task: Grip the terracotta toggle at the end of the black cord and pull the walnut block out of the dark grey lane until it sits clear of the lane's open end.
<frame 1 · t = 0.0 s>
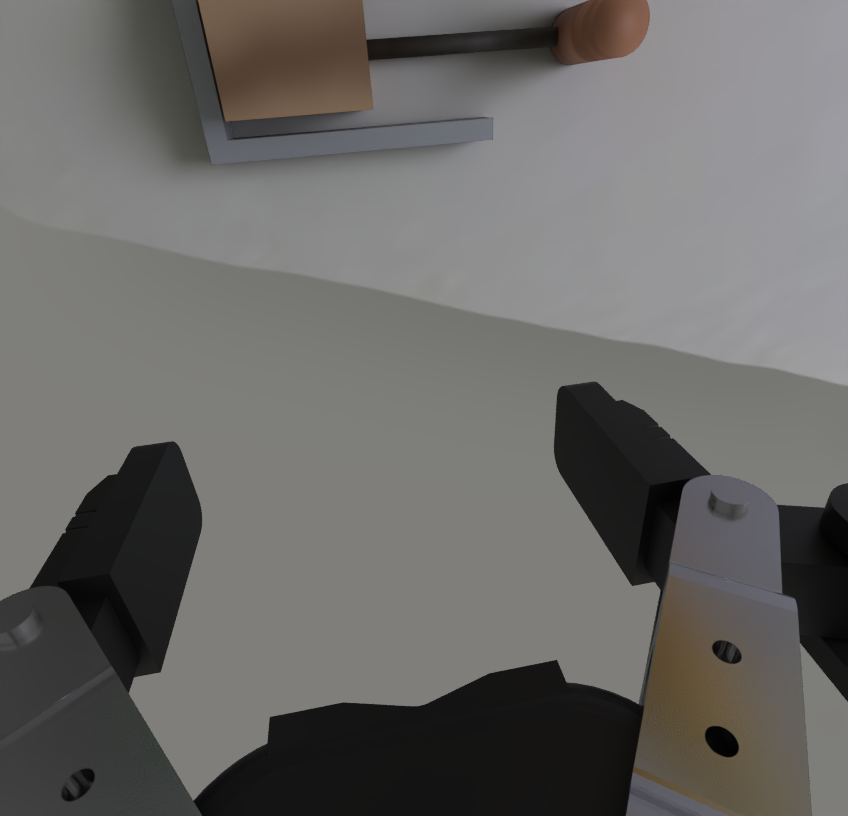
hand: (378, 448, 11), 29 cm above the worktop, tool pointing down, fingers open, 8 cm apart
lane: (352, 52, 32), on the worktop
walnut block: (294, 56, 32), on the worktop
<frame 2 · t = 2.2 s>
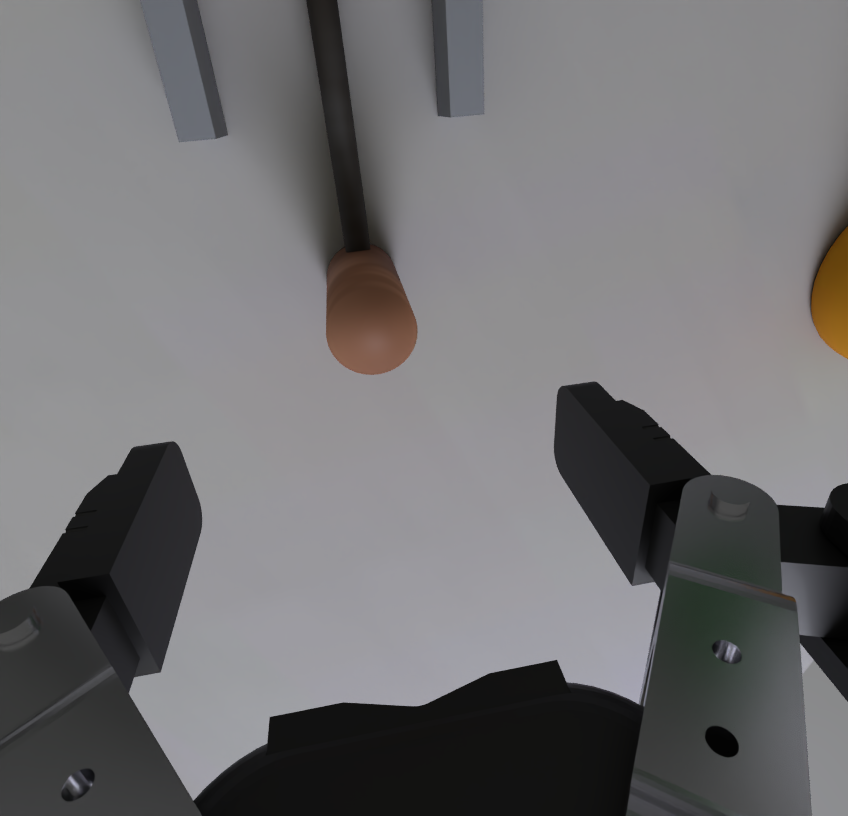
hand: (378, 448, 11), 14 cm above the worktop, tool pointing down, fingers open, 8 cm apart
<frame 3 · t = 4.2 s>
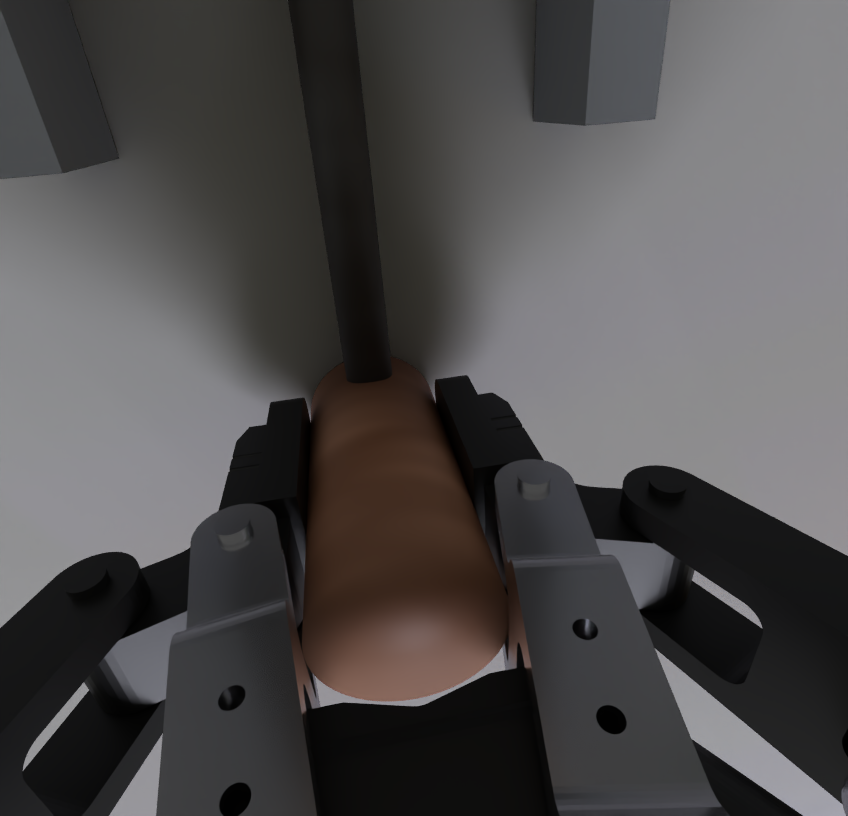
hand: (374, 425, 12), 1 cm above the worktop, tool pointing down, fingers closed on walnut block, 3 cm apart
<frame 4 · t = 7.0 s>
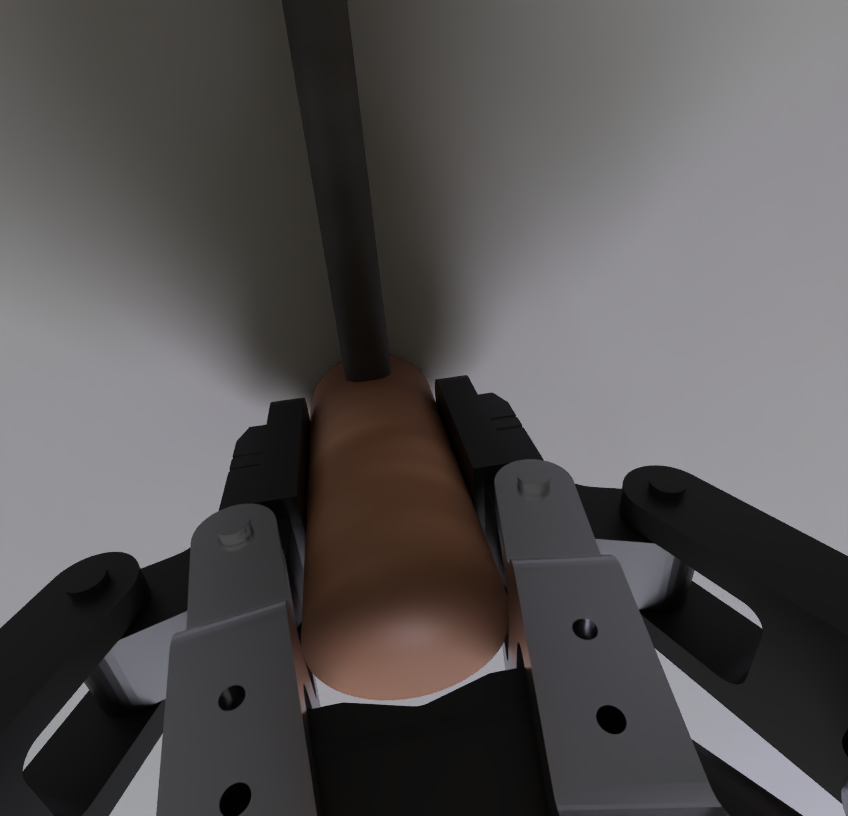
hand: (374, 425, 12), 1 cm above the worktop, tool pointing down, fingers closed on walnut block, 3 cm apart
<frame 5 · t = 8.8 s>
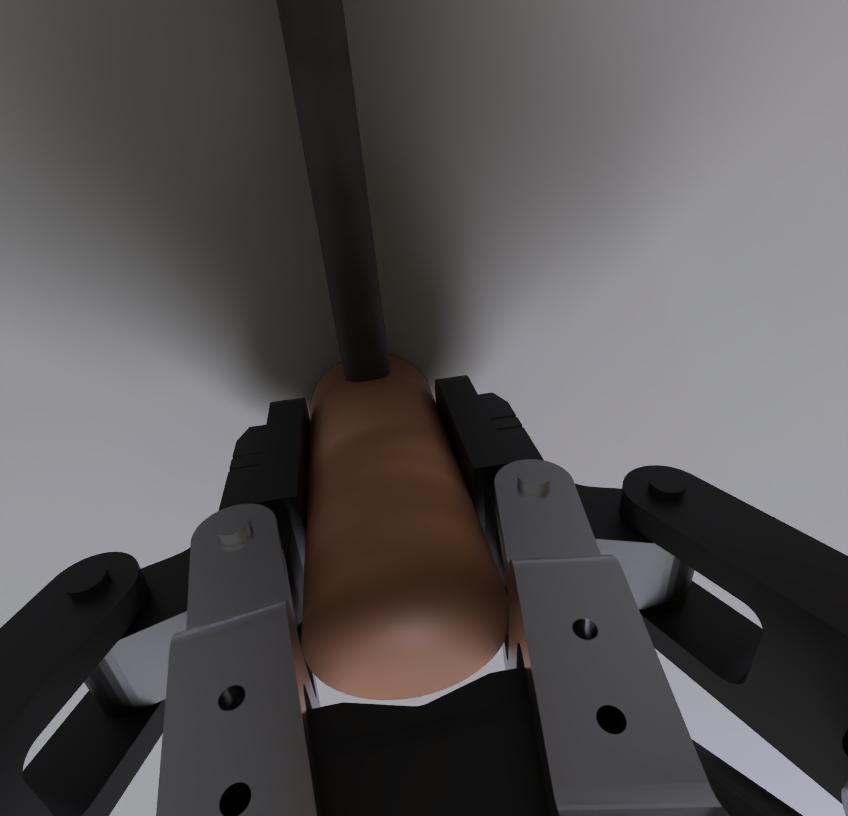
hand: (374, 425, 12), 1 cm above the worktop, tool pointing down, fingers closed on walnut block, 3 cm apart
when the fingers open (1 cm above the worktop, at t = 9.5 s): walnut block stays where it is, on the worktop.
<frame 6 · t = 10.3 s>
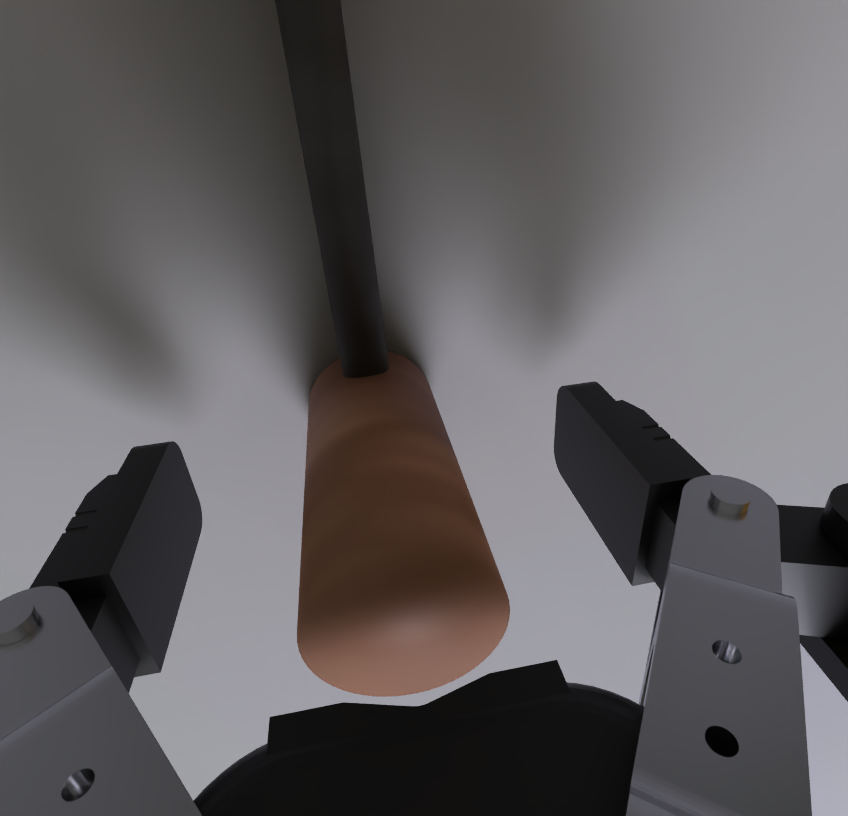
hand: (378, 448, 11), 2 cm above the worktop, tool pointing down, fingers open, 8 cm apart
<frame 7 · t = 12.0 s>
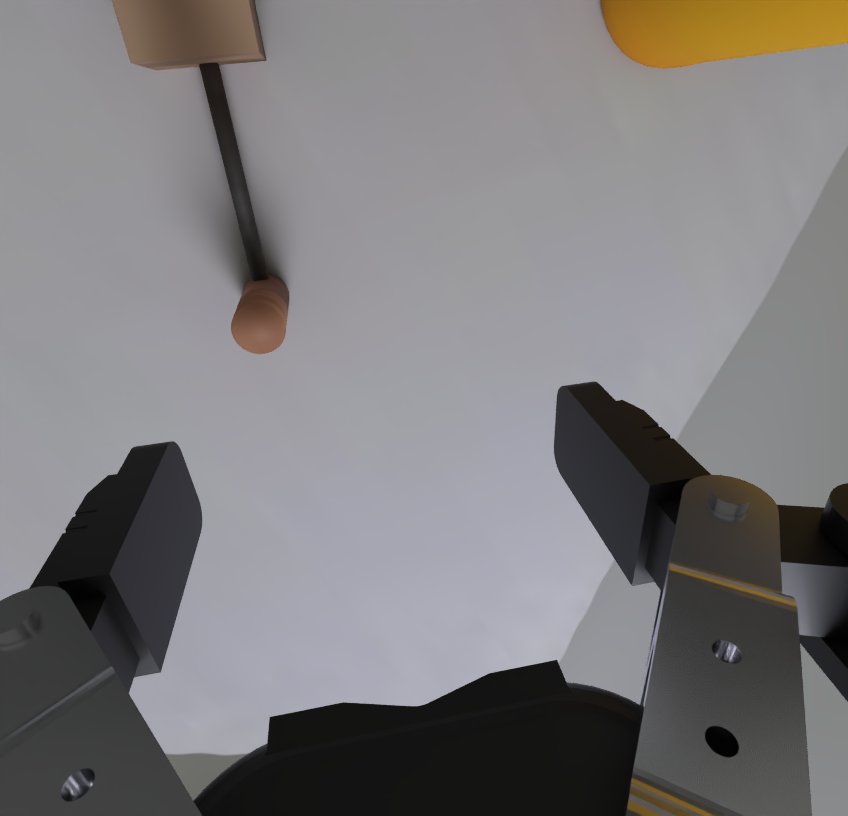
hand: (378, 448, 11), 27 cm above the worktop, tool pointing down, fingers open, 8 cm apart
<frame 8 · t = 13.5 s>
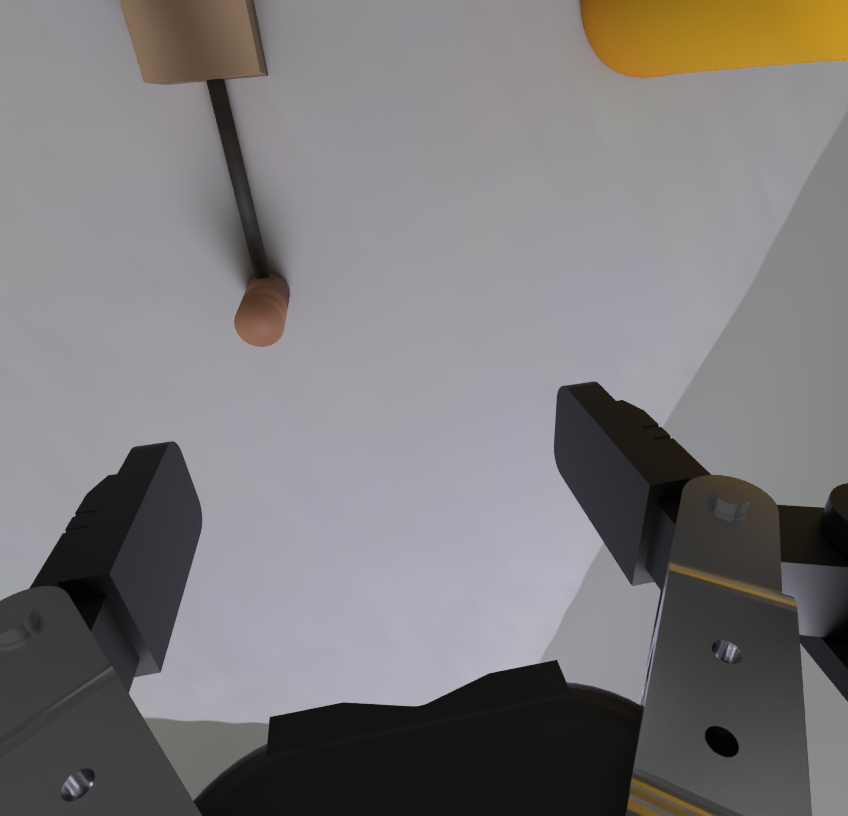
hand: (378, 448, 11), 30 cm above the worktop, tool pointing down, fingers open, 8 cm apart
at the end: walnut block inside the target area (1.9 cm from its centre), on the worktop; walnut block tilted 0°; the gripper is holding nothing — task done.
